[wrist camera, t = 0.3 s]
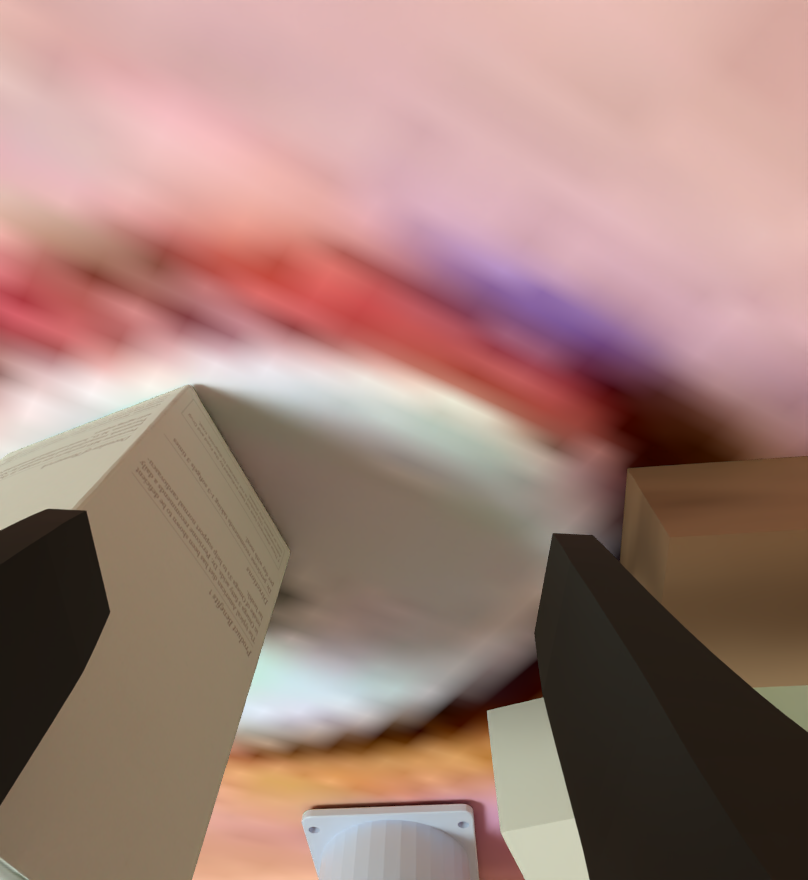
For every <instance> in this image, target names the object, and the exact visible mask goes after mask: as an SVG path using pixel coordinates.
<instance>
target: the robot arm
mask: <svg viewBox="0 0 808 880" xmlns="http://www.w3.org/2000/svg"><path fill="white" fill-rule="evenodd" d="M109 614H110V608H109V604H108V599H107V595H106V591H105V587H104V582H103V578H102V574H101V570H100V566H99V561H98V557H97V553H96V549H95V544H94V540H93V536H92V532H91V528H90V523H89V519H88V515H87V511H86V510H66V509H45V510H43V511H41V512H38V513H36V514H33V515H31V516H29V517H27V518H25V519H23V520H20V521H18V522H16V523H14V524H12V525H10V526H8V527H6V528H4V529H2V530H0V805H1V804H2V802H3V801H4V799H5V797H6V796H7V794H8V793H9V791H10V790H11V788H12V786H13V785H14V783H15V782H16V780H17V778H18V777H19V775H20V774H21V772H22V770H23V769H24V767H25V766H26V764H27V762H28V761H29V759H30V758H31V756H32V754H33V753H34V751H35V750H36V748H37V747H38V745H39V743H40V742H41V740H42V739H43V737H44V735H45V734H46V732H47V731H48V729H49V727H50V726H51V724H52V723H53V721H54V719H55V718H56V716H57V715H58V713H59V711H60V710H61V708H62V706H63V705H64V703H65V701H66V700H67V698H68V697H69V695H70V693H71V692H72V690H73V688H74V687H75V685H76V683H77V682H78V680H79V678H80V677H81V675H82V673H83V672H84V670H85V667H86V665H87V663H88V661H89V659H90V657H91V655H92V653H93V651H94V649H95V646H96V644H97V642H98V640H99V637H100V635H101V633H102V630H103V628H104V626H105V624H106V621H107V619H108V617H109ZM534 634H535V642H536V650H537V658H538V666H539V673H540V680H541V686H542V693H543V698H544V702H545V706H546V710H547V714H548V718H549V722H550V726H551V730H552V734H553V738H554V742H555V745H556V749H557V753H558V757H559V761H560V765H561V768H562V772H563V776H564V780H565V784H566V787H567V791H568V795H569V799H570V803H571V807H572V810H573V814H574V818H575V822H576V826H577V829H578V833H579V837H580V841H581V845H582V849H583V853H584V857H585V862H586V866H587V871H588V875H589V880H808V732H807V731H806V730H805V729H803V728H802V727H801V726H799V725H798V724H797V723H795V722H794V721H793V720H792V719H790V718H789V717H788V716H786V715H785V714H784V713H783V712H781V711H780V710H779V709H778V708H776V707H775V706H774V705H773V704H772V703H770V702H769V701H768V700H767V699H765V698H764V697H763V696H762V695H761V694H759V693H758V692H757V691H756V690H755V689H753V688H752V687H751V686H750V685H749V684H748V683H747V682H745V681H744V680H743V679H742V678H741V677H740V676H739V675H737V674H736V673H735V672H734V671H733V670H732V669H730V668H729V667H728V666H727V665H726V664H725V663H724V662H722V661H721V660H720V659H719V658H718V657H717V656H716V655H714V654H713V653H712V652H711V651H710V650H709V649H708V648H707V647H706V646H705V645H704V644H702V643H701V642H700V641H699V640H698V639H697V638H696V637H695V636H694V635H693V634H692V633H691V632H689V631H688V630H687V629H686V628H685V627H684V626H683V625H682V624H681V623H680V622H679V621H678V620H677V619H676V618H675V617H674V616H673V615H672V614H671V613H670V612H669V611H668V610H667V609H666V608H664V607H663V606H662V605H661V604H660V603H659V602H658V601H657V600H656V599H655V598H654V597H653V596H652V595H651V594H650V593H649V592H648V591H647V590H646V589H645V588H644V587H643V586H642V585H641V584H640V583H639V582H638V580H637V579H636V578H635V577H634V576H633V575H632V574H631V573H630V572H629V571H628V570H627V569H626V568H625V567H624V566H623V565H622V564H621V563H620V562H619V561H618V560H617V559H616V558H615V557H614V556H613V555H612V554H611V553H610V552H609V551H608V550H607V549H606V548H605V547H604V546H603V545H602V544H601V543H600V542H599V541H598V540H597V539H596V538H595V537H594V536H593V535H577V534H556V533H553V535H552V540H551V546H550V551H549V556H548V562H547V567H546V573H545V578H544V584H543V589H542V595H541V600H540V605H539V611H538V616H537V622H536V627H535V633H534ZM302 825H303V829H304V832H305V835H306V838H307V842H308V845H309V848H310V852H311V855H312V858H313V862H314V865H315V868H316V871H317V875H318V878H319V880H479V871H478V860H477V848H476V837H475V826H474V815H473V809H472V807H470V806H469V805H467V804H438V805H412V806H385V807H358V808H332V809H310V810H307V811H305V812H304V813H303V817H302Z"/></svg>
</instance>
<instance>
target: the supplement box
mask: <svg viewBox="0 0 808 880" xmlns="http://www.w3.org/2000/svg"><path fill="white" fill-rule="evenodd" d="M45 509H66V510H86V511H87V515H88V519H89V523H90V528H91V532H92V536H93V540H94V544H95V549H96V553H97V557H98V561H99V566H100V570H101V574H102V578H103V582H104V587H105V591H106V595H107V599H108V604H109V608H110V614H109V617H108V619H107V621H106V624H105V626H104V628H103V630H102V633H101V635H100V637H99V640H98V642H97V644H96V646H95V649H94V651H93V653H92V655H91V657H90V659H89V661H88V663H87V665H86V667H85V670H84V672H83V673H82V675H81V677H80V678H79V680H78V682H77V683H76V685H75V687H74V688H73V690H72V692H71V693H70V695H69V697H68V698H67V700H66V701H65V703H64V705H63V706H62V708H61V710H60V711H59V713H58V715H57V716H56V718H55V719H54V721H53V723H52V724H51V726H50V727H49V729H48V731H47V732H46V734H45V735H44V737H43V739H42V740H41V742H40V743H39V745H38V747H37V748H36V750H35V751H34V753H33V754H32V756H31V758H30V759H29V761H28V762H27V764H26V766H25V767H24V769H23V770H22V772H21V774H20V775H19V777H18V778H17V780H16V782H15V783H14V785H13V786H12V788H11V790H10V791H9V793H8V794H7V796H6V797H5V799H4V801H3V802H2V804H1V805H0V880H192V877H193V874H194V871H195V867H196V864H197V861H198V857H199V854H200V851H201V847H202V844H203V841H204V838H205V834H206V831H207V828H208V824H209V821H210V818H211V814H212V811H213V808H214V804H215V801H216V798H217V795H218V791H219V788H220V784H221V781H222V778H223V774H224V771H225V768H226V765H227V762H228V759H229V755H230V751H231V748H232V745H233V742H234V739H235V735H236V732H237V729H238V725H239V722H240V719H241V715H242V712H243V709H244V706H245V702H246V698H247V695H248V692H249V689H250V686H251V682H252V679H253V676H254V673H255V669H256V666H257V663H258V659H259V656H260V652H261V649H262V646H263V643H264V639H265V636H266V632H267V629H268V626H269V623H270V619H271V616H272V613H273V609H274V606H275V603H276V600H277V597H278V593H279V590H280V587H281V583H282V580H283V577H284V574H285V570H286V567H287V563H288V560H289V557H290V553H291V552H290V550H289V548H288V546H287V545H286V543H285V542H284V540H283V538H282V537H281V535H280V533H279V531H278V530H277V528H276V526H275V524H274V523H273V521H272V519H271V518H270V516H269V514H268V513H267V511H266V509H265V508H264V506H263V504H262V503H261V501H260V499H259V498H258V496H257V494H256V493H255V491H254V489H253V488H252V486H251V484H250V483H249V481H248V479H247V478H246V476H245V474H244V473H243V471H242V469H241V468H240V466H239V464H238V463H237V461H236V459H235V458H234V456H233V454H232V453H231V451H230V449H229V448H228V446H227V444H226V443H225V441H224V439H223V438H222V436H221V434H220V433H219V431H218V429H217V428H216V426H215V424H214V423H213V421H212V419H211V418H210V416H209V414H208V413H207V411H206V409H205V407H204V406H203V404H202V402H201V401H200V399H199V397H198V396H197V394H196V392H195V391H194V389H193V387H192V386H191V385H186V386H183V387H180V388H178V389H175V390H173V391H170V392H168V393H165V394H162V395H159V396H156V397H154V398H152V399H149V400H146V401H144V402H141V403H139V404H136V405H134V406H131V407H129V408H126V409H123V410H120V411H117V412H115V413H112V414H110V415H108V416H105V417H103V418H100V419H97V420H94V421H92V422H89V423H87V424H84V425H81V426H79V427H76V428H74V429H71V430H69V431H66V432H63V433H61V434H58V435H56V436H53V437H50V438H48V439H45V440H43V441H40V442H37V443H35V444H32V445H29V446H27V447H24V448H21V449H19V450H17V451H14V452H11V453H9V454H7V455H6V456H5V457H3V458H2V459H1V460H0V530H2V529H4V528H6V527H8V526H10V525H12V524H14V523H16V522H18V521H20V520H23V519H25V518H27V517H29V516H31V515H33V514H36V513H38V512H41V511H43V510H45Z"/></svg>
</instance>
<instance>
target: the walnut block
mask: <svg viewBox="0 0 808 880" xmlns="http://www.w3.org/2000/svg"><path fill="white" fill-rule="evenodd" d="M620 563H621V564H622V565H623V566H624V567H625V568H626V569H627V570H628V571H629V572H630V573H631V574H632V575H633V576H634V577H635V578H636V579H637V580H638V582H639V583H640V584H641V585H642V586H643V587H644V588H645V589H646V590H647V591H648V592H649V593H650V594H651V595H652V596H653V597H654V598H655V599H656V600H657V601H658V602H659V603H660V604H661V605H662V606H663V607H664V608H666V609H667V610H668V611H669V612H670V613H671V614H672V615H673V616H674V617H675V618H676V619H677V620H678V621H679V622H680V623H681V624H682V625H683V626H684V627H685V628H686V629H687V630H688V631H689V632H691V633H692V634H693V635H694V636H695V637H696V638H697V639H698V640H699V641H700V642H701V643H702V644H704V645H705V646H706V647H707V648H708V649H709V650H710V651H711V652H712V653H713V654H714V655H716V656H717V657H718V658H719V659H720V660H721V661H722V662H724V663H725V664H726V665H727V666H728V667H729V668H730V669H732V670H733V671H734V672H735V673H736V674H737V675H739V676H740V677H741V678H742V679H743V680H744V681H745V682H747V683H748V684H749V685H750V686H751V687H752V688H756V687H779V686H802V685H808V456H800V457H786V458H771V459H756V460H741V461H727V462H712V463H697V464H682V465H667V466H653V467H638V468H628V469H627V481H626V493H625V505H624V517H623V529H622V541H621V554H620Z"/></svg>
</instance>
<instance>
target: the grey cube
mask: <svg viewBox="0 0 808 880" xmlns="http://www.w3.org/2000/svg"><path fill="white" fill-rule="evenodd" d="M487 716H488V725H489V734H490V743H491V752H492V760H493V769H494V778H495V787H496V796H497V805H498V814H499V823H500V832H501V834H502V836H503V838H504V840H505V842H506V844H507V846H508V848H509V850H510V852H511V854H512V855H513V857H514V859H515V861H516V863H517V865H518V867H519V869H520V871H521V873H522V875H523V877H524V879H525V880H589V875H588V871H587V866H586V862H585V857H584V853H583V849H582V845H581V841H580V837H579V833H578V829H577V826H576V822H575V818H574V814H573V810H572V807H571V803H570V799H569V795H568V791H567V787H566V784H565V780H564V776H563V772H562V768H561V765H560V761H559V757H558V753H557V749H556V745H555V742H554V738H553V734H552V730H551V726H550V722H549V718H548V714H547V710H546V706H545V702H544V698H539V699H535V700H531V701H527V702H522V703H518V704H514V705H509V706H505V707H501V708H497V709H492V710H488V711H487Z"/></svg>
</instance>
